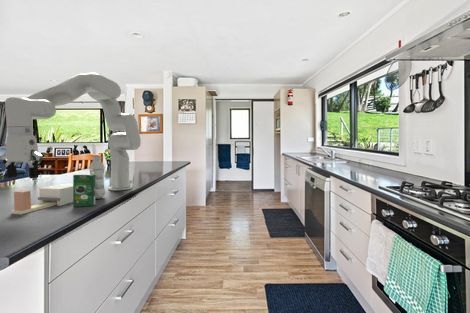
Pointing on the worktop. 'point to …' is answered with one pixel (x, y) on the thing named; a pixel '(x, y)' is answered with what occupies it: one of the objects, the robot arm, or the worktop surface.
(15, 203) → the block on flat board
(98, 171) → the plastic bottle
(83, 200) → the coffee box
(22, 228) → the worktop surface
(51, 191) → the dispenser
